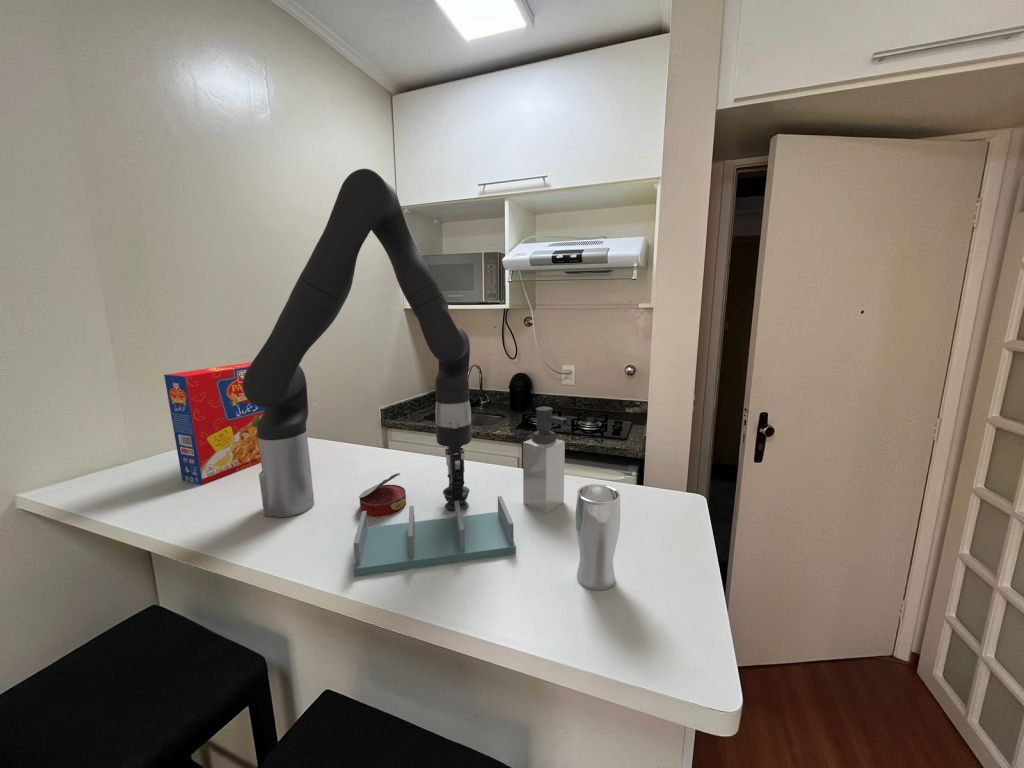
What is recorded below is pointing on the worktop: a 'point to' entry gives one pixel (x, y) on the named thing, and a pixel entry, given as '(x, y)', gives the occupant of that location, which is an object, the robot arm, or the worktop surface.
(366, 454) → the worktop surface
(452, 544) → the rack
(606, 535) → the beer glass
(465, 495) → the grey chess piece
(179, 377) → the pasta box
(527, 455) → the soap dispenser
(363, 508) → the canned food
